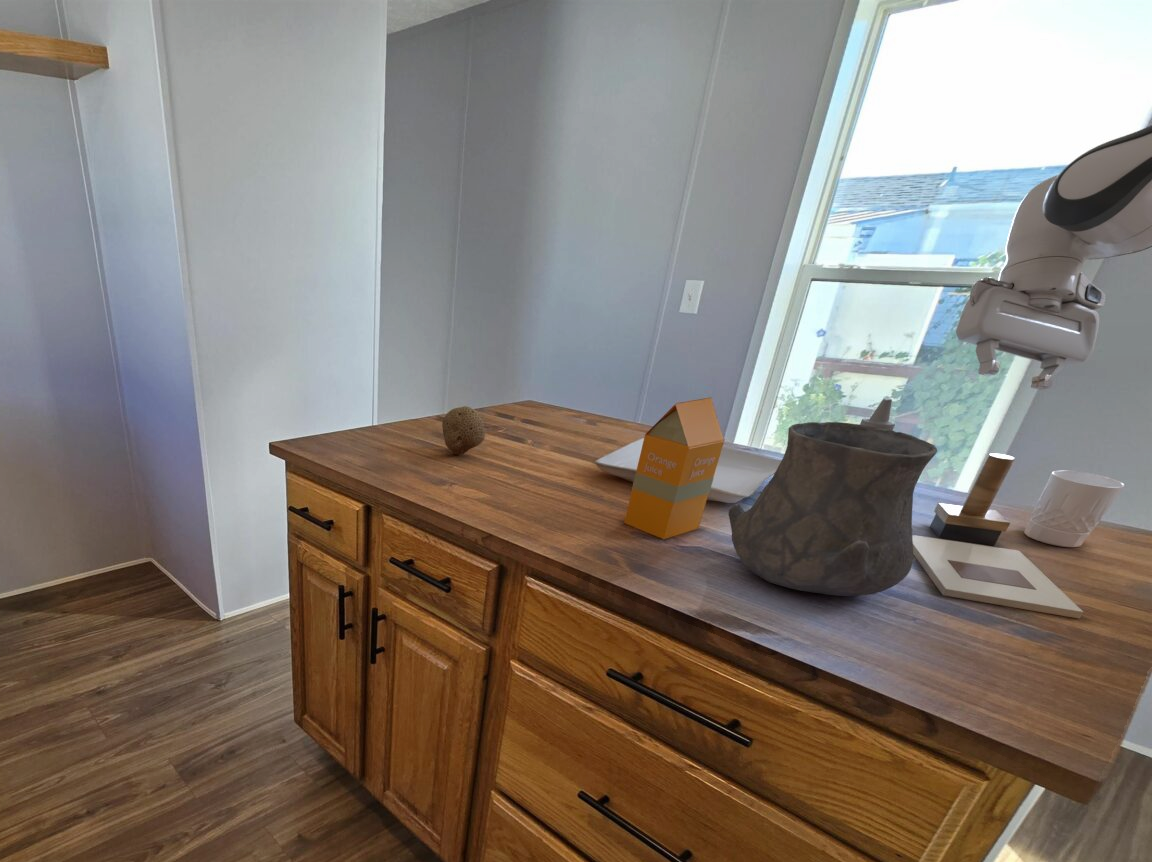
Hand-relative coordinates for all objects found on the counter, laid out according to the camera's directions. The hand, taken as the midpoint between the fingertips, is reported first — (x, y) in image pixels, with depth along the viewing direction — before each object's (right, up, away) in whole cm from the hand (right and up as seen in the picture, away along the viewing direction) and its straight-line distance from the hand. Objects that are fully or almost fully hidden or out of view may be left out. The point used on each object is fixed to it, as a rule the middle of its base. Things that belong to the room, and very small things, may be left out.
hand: (1014, 381), depth 100 cm
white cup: (+10, -24, +4) cm, 26 cm away
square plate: (-36, -10, +27) cm, 46 cm away
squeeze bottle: (-13, -16, +18) cm, 27 cm away
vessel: (-39, -30, -9) cm, 50 cm away
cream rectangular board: (-12, -30, -7) cm, 33 cm away
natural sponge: (-78, -3, +39) cm, 87 cm away
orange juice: (-51, -21, +7) cm, 56 cm away
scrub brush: (-4, -23, +5) cm, 24 cm away
